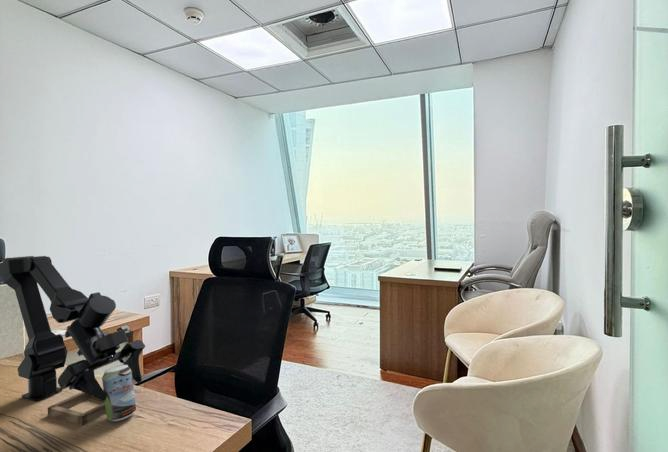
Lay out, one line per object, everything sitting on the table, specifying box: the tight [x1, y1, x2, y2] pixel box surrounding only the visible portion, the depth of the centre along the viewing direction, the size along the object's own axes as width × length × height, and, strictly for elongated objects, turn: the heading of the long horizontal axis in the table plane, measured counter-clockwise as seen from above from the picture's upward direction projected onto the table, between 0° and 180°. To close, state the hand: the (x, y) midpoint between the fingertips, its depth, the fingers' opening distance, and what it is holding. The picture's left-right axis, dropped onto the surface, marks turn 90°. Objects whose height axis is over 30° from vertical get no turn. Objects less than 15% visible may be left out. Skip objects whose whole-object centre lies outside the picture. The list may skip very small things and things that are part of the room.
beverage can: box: [101, 364, 137, 422], centre depth 84 cm, size 6×7×12 cm
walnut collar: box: [47, 391, 106, 426], centre depth 87 cm, size 12×11×2 cm
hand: (123, 390), depth 83 cm, fingers open, 9 cm apart
